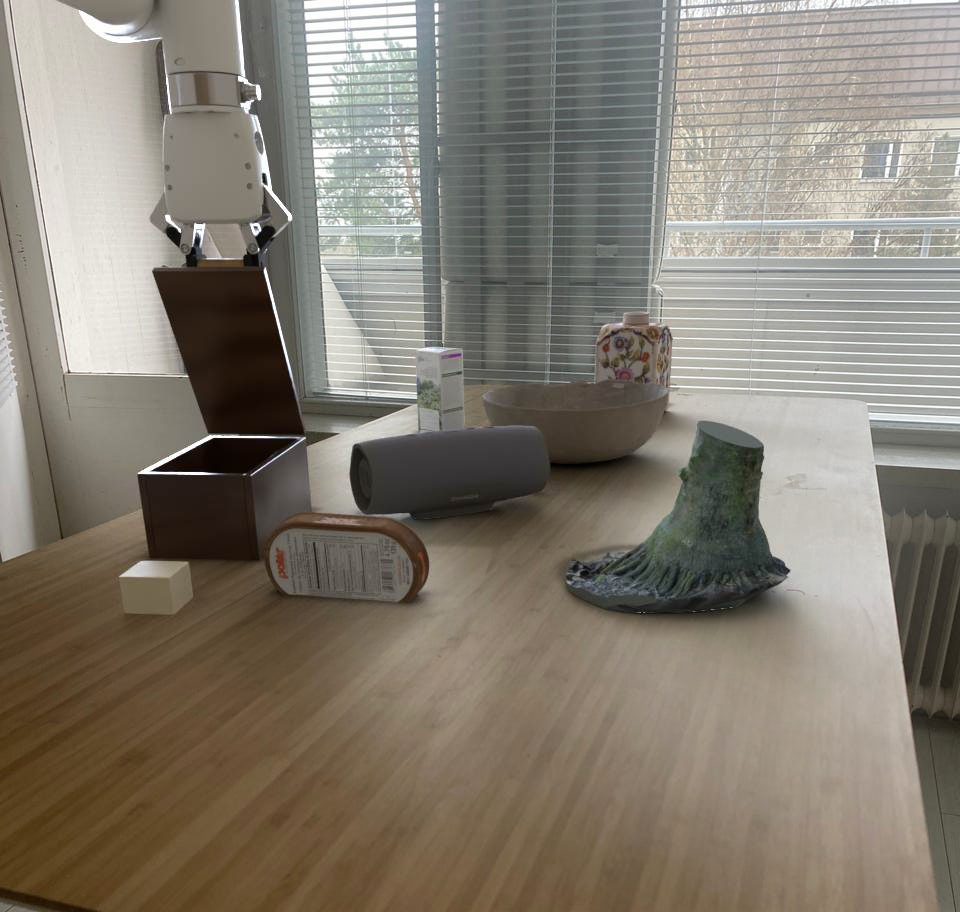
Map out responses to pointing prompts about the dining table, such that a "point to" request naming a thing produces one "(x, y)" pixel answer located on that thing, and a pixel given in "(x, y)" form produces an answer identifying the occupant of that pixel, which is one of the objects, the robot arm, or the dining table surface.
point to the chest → (223, 496)
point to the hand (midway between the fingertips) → (228, 293)
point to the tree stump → (694, 538)
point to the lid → (232, 346)
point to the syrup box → (439, 388)
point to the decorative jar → (634, 351)
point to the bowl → (582, 416)
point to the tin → (346, 557)
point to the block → (156, 587)
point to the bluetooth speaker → (448, 470)
